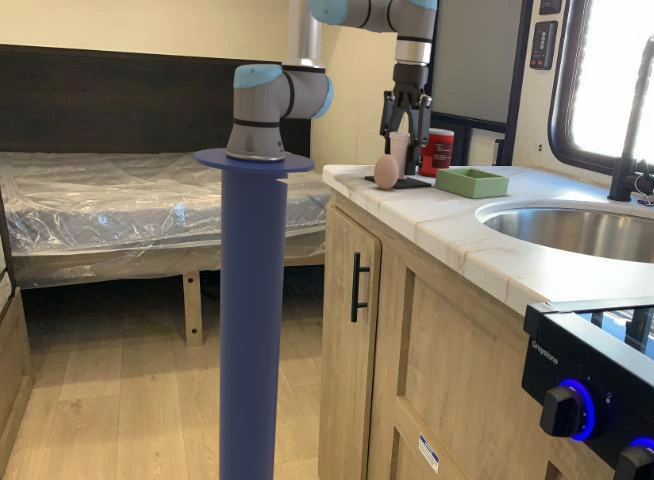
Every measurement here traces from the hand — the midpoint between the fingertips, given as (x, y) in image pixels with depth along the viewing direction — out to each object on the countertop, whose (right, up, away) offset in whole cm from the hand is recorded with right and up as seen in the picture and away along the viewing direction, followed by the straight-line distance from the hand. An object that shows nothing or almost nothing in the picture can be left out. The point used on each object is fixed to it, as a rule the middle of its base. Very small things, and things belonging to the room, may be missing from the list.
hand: (399, 172), depth 136 cm
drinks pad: (0, -2, +1) cm, 2 cm away
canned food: (+9, +3, +16) cm, 19 cm away
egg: (-4, -6, -8) cm, 10 cm away
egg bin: (+16, -4, 0) cm, 17 cm away
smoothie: (0, -1, +1) cm, 1 cm away
